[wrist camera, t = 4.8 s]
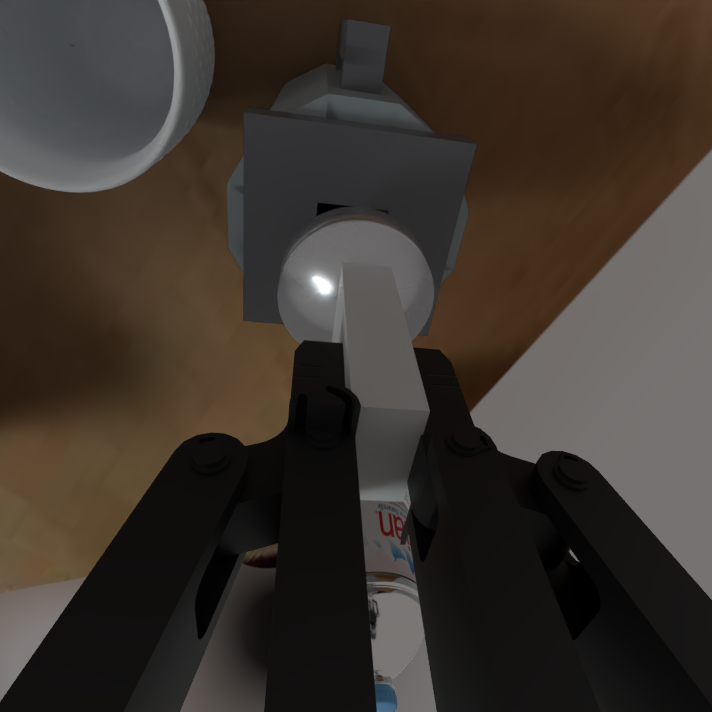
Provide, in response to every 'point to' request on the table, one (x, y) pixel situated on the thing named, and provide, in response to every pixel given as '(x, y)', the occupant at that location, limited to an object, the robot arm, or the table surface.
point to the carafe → (342, 167)
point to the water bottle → (390, 595)
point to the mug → (99, 87)
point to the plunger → (355, 245)
